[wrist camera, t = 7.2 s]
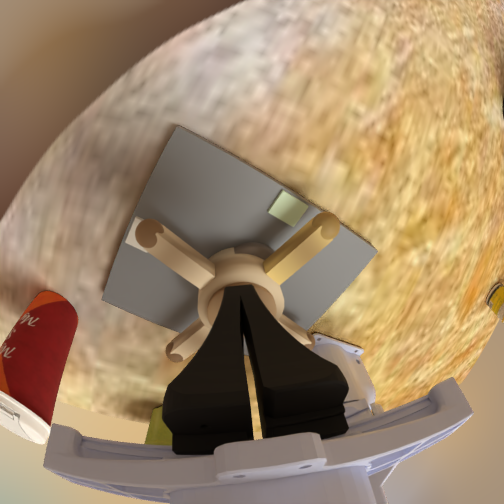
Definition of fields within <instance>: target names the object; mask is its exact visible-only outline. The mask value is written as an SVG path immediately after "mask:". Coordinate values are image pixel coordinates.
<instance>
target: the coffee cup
mask: <svg viewBox="0 0 504 504" xmlns="http://www.w3.org/2000/svg"><path fill="white" fill-rule="evenodd" d="M77 325H78V315H77V313H76V311H75V309H74V307H73V306H72V305H71V304H70V303H69V302H68V301H67V300H66V299H65V298H64V297H62V296H61V295H59V294H57V293H55V292H51V291H43V292H41V293H39V294H38V295H37V296H36V297H35V299H34V300H33V301H32V302H31V304H30V305H29V306H28V308H27V309H26V310H25V312H24V313H23V314H22V316H21V317H20V319H19V320H18V321H17V323H16V324H15V326H14V327H13V329H12V330H11V332H10V333H9V335H8V336H7V338H6V340H5V341H4V343H3V344H2V346H1V348H0V424H1V425H2V426H4V427H5V428H7V429H8V430H10V431H11V432H13V433H15V434H17V435H18V436H20V437H22V438H24V439H27V440H29V441H32V442H34V443H38V444H44V443H45V442H46V440H47V438H48V436H49V435H50V431H51V428H50V426H51V420H52V416H53V411H54V406H55V402H56V398H57V393H58V389H59V385H60V382H61V378H62V374H63V371H64V367H65V364H66V360H67V357H68V354H69V351H70V347H71V344H72V341H73V338H74V335H75V332H76V328H77Z"/></svg>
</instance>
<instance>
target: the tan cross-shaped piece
mask: <svg viewBox="0 0 504 504" xmlns="http://www.w3.org/2000/svg"><path fill="white" fill-rule="evenodd" d="M339 230H340V223H339V220H338V218H337V217H336V216H335V215H334V214H332V213H330V212H321V213H319V214H317V215H316V216H315V217H313V218H312V219H311V220H310V221H309V222H308V223H307V224H305V225H304V226H303V227H302V228H301V229H300V230H299V231H298V232H296V233H295V234H294V235H293V236H292V237H291V238H290V239H289V240H287V241H286V242H285V243H284V244H283V245H282V246H281V247H279V248H278V249H277V250H276V251H274V250H273V249H272V248H270V247H269V246H267V245H265V244H262V243H256V242H248V243H243V244H240V245H237V246H235V247H232V248H227V249H224V250H221V251H219V252H217V253H216V254H214V255H213V256H211V257H210V258H209V259H207V258H205V257H204V256H203V255H201V254H200V253H199V252H197V251H196V250H195V249H193V248H192V247H191V246H190V245H188V244H187V243H186V242H184V241H183V240H182V239H180V238H179V237H178V236H177V235H175V234H174V233H173V232H171V231H170V230H169V229H168V228H166V227H165V226H164V225H162V224H161V223H160V222H158V221H157V220H155V219H145V220H143V221H141V222H140V223H139V224H138V226H137V227H136V230H135V238H136V241H137V242H138V244H139V245H140V246H142V247H143V249H145V250H146V251H147V252H149V253H150V254H151V255H153V256H154V257H155V258H157V259H158V260H160V261H161V262H162V263H164V264H165V265H166V266H168V267H169V268H171V269H172V270H173V271H175V272H176V273H178V274H179V275H181V276H182V277H183V278H185V279H186V280H188V281H189V282H191V283H192V284H193V285H195V286H196V287H198V288H199V292H198V314H199V318H198V319H197V320H195V321H194V322H193V323H192V324H191V325H190V326H188V327H187V328H186V329H185V330H184V331H183V332H181V333H180V334H179V335H178V336H177V337H175V338H174V339H173V340H172V341H171V342H170V343H169V344H168V345H167V347H166V356H167V357H168V359H170V360H171V361H173V362H181V361H183V360H185V359H186V358H188V357H189V356H190V355H192V354H193V353H194V352H196V351H197V350H198V349H200V347H201V346H202V344H203V342H204V341H205V339H206V337H207V335H208V334H209V332H210V330H211V328H212V325H213V323H214V321H215V319H216V316H217V314H218V311H219V308H220V305H221V302H222V298H223V294H224V288H225V287H228V286H238V285H248V284H252V285H253V286H254V288H255V290H256V292H257V294H258V295H259V297H260V299H261V300H262V302H263V303H264V305H265V306H266V307H267V309H268V310H269V311H270V313H271V314H272V315H273V316H274V318H275V319H276V320H277V321H278V322H279V323H280V324H281V325H282V326H283V327H284V328H285V329H286V330H287V331H288V332H289V333H290V334H291V335H292V336H293V337H294V338H295V339H297V340H298V341H299V342H300V343H302V344H303V345H304V346H306V347H307V348H308V349H310V350H312V349H313V348H314V346H315V338H314V337H313V335H312V334H310V333H308V332H307V331H306V330H305V329H303V328H302V327H300V326H299V325H297V324H296V323H295V322H293V321H292V320H290V319H289V318H287V317H286V316H285V315H283V314H282V313H283V310H284V297H283V294H282V291H281V288H280V285H281V284H282V283H283V282H284V281H286V280H287V279H288V278H289V277H290V276H292V275H293V274H294V273H295V272H296V271H298V270H299V269H300V268H301V267H302V266H303V265H305V264H306V263H307V262H308V261H309V260H311V259H312V258H313V257H314V256H315V255H316V254H318V253H319V252H320V251H321V250H322V249H323V248H324V247H326V246H327V245H328V244H329V243H330V242H331V241H333V238H335V237H336V236H337V235H338V233H339Z"/></svg>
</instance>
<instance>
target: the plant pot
mask: <svg viewBox="0 0 504 504" xmlns="http://www.w3.org/2000/svg"><path fill="white" fill-rule="evenodd" d="M145 444H148V445H167V446H172V433H171V431H170V430H169V429H168V427H167V426H166V425H165V423H164V422H163V420H162V406H161V407H159V408H154V409H153V412H152V416H151V420H150V424H149V428H148V432H147V437H146V441H145Z"/></svg>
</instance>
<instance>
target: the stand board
mask: <svg viewBox="0 0 504 504" xmlns="http://www.w3.org/2000/svg"><path fill="white" fill-rule="evenodd" d="M321 212H325V211H323V210H322V209H320V208H319V207H317V206H316V205H314V204H313V203H311V202H310V201H308V200H307V199H305V198H304V197H302V196H301V195H299V194H298V193H296V192H295V191H293V190H291V189H290V188H288V187H287V186H285V185H283V184H282V183H280V182H279V181H277V180H275V179H274V178H272V177H271V176H269V175H267V174H266V173H264V172H262V171H261V170H259V169H257V168H256V167H254V166H252V165H251V164H249V163H247V162H246V161H244V160H242V159H240V158H239V157H237V156H235V155H233V154H232V153H230V152H228V151H226V150H225V149H223V148H221V147H219V146H217V145H216V144H214V143H212V142H210V141H208V140H206V139H205V138H203V137H201V136H199V135H197V134H195V133H193V132H191V131H189V130H188V129H186V128H184V127H182V126H180V125H179V126H177V127H176V129H175V131H174V132H173V134H172V136H171V138H170V140H169V141H168V143H167V145H166V147H165V149H164V151H163V153H162V154H161V156H160V158H159V160H158V162H157V164H156V166H155V168H154V170H153V172H152V174H151V176H150V178H149V180H148V182H147V184H146V187H145V189H144V191H143V193H142V195H141V197H140V200H139V202H138V204H137V206H136V208H135V211H134V213H133V215H132V218H131V220H130V222H129V225H128V227H127V230H126V232H125V235H124V237H123V240H122V242H121V245H120V247H119V250H118V253H117V255H116V258H115V261H114V264H113V267H112V269H111V272H110V275H109V278H108V281H107V284H106V287H105V290H104V293H103V297H102V300H103V301H105V302H107V303H109V304H112V305H114V306H116V307H118V308H120V309H123V310H125V311H127V312H129V313H132V314H134V315H136V316H139V317H141V318H144V319H146V320H148V321H151V322H153V323H156V324H158V325H161V326H163V327H166V328H169V329H171V330H174V331H176V332H179V333H181V332H183V331H184V330H185V329H186V328H187V327H188V326H190V325H191V324H192V323H193V322H194V321H195V320H197V319H198V318H199V314H198V292H199V288H198V287H196V286H195V285H193V284H192V283H191V282H189V281H188V280H186V279H185V278H183V277H182V276H181V275H179V274H178V273H176V272H175V271H173V270H172V269H171V268H169V267H168V266H166V265H165V264H164V263H162V262H161V261H160V260H158V259H157V258H155V257H154V256H153V255H151V254H150V253H149V252H147V251H146V250H145V249H143V247H142V246H140V245H139V244H138V242H137V241H136V238H135V230H136V227H137V226H138V224H139V223H140V222H141V221H143V220H145V219H155V220H157V221H158V222H160V223H161V224H162V225H164V226H165V227H166V228H168V229H169V230H170V231H171V232H173V233H174V234H175V235H177V236H178V237H179V238H180V239H182V240H183V241H184V242H186V243H187V244H188V245H190V246H191V247H192V248H193V249H195V250H196V251H197V252H199V253H200V254H201V255H203V256H204V257H205V258H207V259H209V258H210V257H211V256H213V255H214V254H216V253H217V252H219V251H221V250H224V249H227V248H232V247H235V246H237V245H240V244H243V243H248V242H256V243H262V244H265V245H267V246H269V247H270V248H272V249H273V250H274V251H276V250H277V249H278V248H279V247H281V246H282V245H283V244H284V243H285V242H286V241H287V240H289V239H290V238H291V237H292V236H293V235H294V234H295V233H296V232H298V231H299V230H300V229H301V228H302V227H303V226H304V225H305V224H307V223H308V222H309V221H310V220H311V219H312V218H313V217H315V216H316V215H317V214H319V213H321ZM339 223H340V230H339V233H338V235H337V236H336V237H335V238H333V241H331V242H330V243H329V244H328V245H327V246H326V247H324V248H323V249H322V250H321V251H320V252H319V253H318V254H316V255H315V256H314V257H313V258H312V259H311V260H309V261H308V262H307V263H306V264H305V265H303V266H302V267H301V268H300V269H299V270H298V271H296V272H295V273H294V274H293V275H292V276H290V277H289V278H288V279H287V280H286V281H284V282H283V283H282V284H281V285H280V288H281V291H282V294H283V297H284V310H283V313H282V314H283V315H285V316H286V317H287V318H289V319H290V320H292V321H293V322H295V323H296V324H297V325H299V326H300V327H302V328H303V329H305V330H306V331H307V330H308V329H309V328H310V327H311V326H312V325H313V324H314V323H315V322H316V321H317V320H318V319H319V318H320V317H321V316H322V315H323V314H324V313H325V312H326V310H327V309H328V308H329V307H330V306H331V305H332V304H333V303H334V302H335V301H336V300H337V299H338V297H339V296H340V295H341V294H342V293H343V292H344V291H345V290H346V289H347V287H348V286H349V285H350V284H351V283H352V282H353V281H354V279H355V278H356V277H357V276H358V275H359V274H360V272H361V271H362V270H363V269H364V268H365V267H366V265H367V264H368V263H369V262H370V261H371V259H372V258H373V257H374V256H375V254H376V253H377V252H378V251H377V250H376V249H375V248H374V246H373V245H371V244H370V243H369V242H367V241H366V240H365V239H363V238H362V237H361V236H359V235H358V234H356V233H355V232H354V231H352V230H351V229H349V228H348V227H347V226H345V225H344V224H342V223H341V222H339ZM244 354H245V355H248V356H249V354H248V350H247V346H246V342H245V338H244Z"/></svg>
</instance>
